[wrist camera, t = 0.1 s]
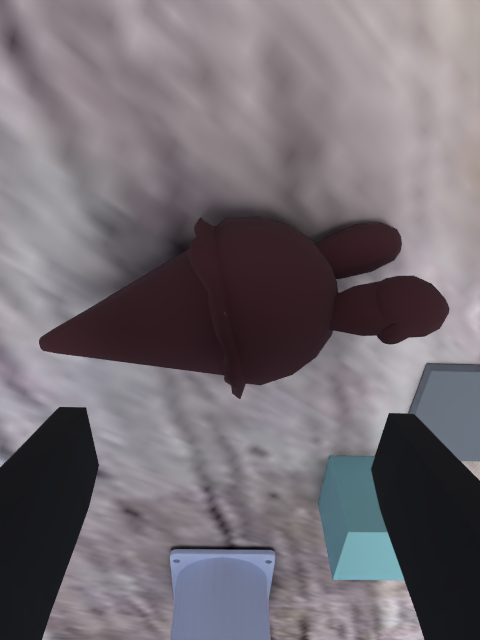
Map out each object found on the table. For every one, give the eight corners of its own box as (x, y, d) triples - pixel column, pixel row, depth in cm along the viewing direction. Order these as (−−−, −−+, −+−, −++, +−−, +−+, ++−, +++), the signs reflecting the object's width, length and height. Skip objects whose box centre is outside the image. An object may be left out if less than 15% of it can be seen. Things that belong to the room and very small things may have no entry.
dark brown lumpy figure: (70, 471, 16) (444, 396, 16) (-57, 357, 11) (509, 243, 11) (90, 339, 21) (378, 281, 21) (10, 214, 15) (399, 135, 15)
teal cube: (388, 503, 28) (416, 580, 24) (317, 502, 28) (332, 579, 24) (407, 455, 26) (441, 533, 21) (329, 454, 26) (348, 531, 21)
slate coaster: (504, 453, 25) (509, 461, 25) (394, 452, 25) (397, 459, 25) (555, 366, 22) (562, 374, 21) (426, 363, 22) (431, 371, 21)
